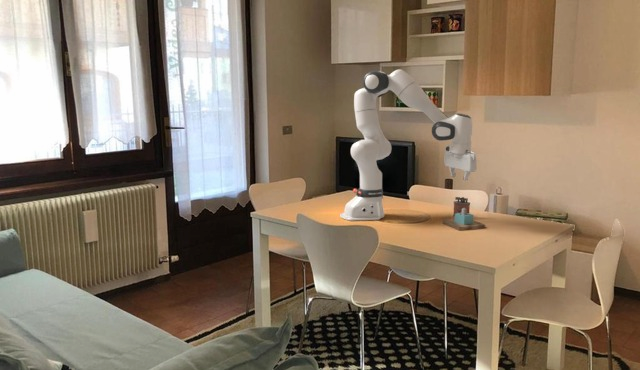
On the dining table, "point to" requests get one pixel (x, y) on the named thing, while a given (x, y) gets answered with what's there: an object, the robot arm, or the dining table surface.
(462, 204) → the lighter
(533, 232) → the dining table surface
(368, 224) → the dining table surface
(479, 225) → the post base
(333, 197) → the dining table surface
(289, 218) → the dining table surface
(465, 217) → the collar
